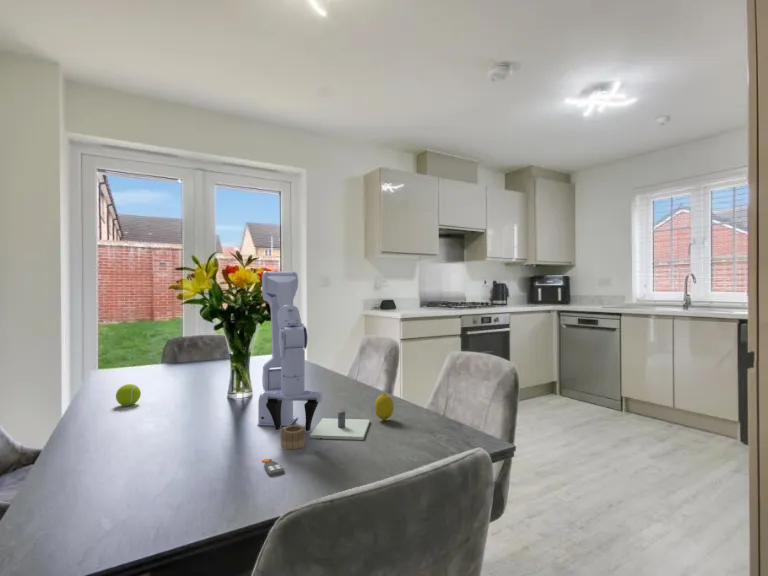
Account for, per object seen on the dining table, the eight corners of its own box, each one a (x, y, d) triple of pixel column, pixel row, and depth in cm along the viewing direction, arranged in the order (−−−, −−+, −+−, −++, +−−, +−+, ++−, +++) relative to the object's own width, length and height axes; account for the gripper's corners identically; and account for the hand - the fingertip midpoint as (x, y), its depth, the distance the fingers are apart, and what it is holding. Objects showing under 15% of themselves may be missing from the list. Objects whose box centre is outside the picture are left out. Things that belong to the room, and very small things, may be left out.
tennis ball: (144, 402, 142) (144, 382, 142) (133, 408, 135) (133, 386, 135) (123, 402, 141) (124, 382, 141) (111, 408, 134) (111, 387, 134)
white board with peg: (310, 438, 108) (310, 418, 108) (322, 420, 122) (322, 403, 122) (363, 439, 107) (363, 420, 107) (369, 422, 121) (369, 405, 121)
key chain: (286, 475, 88) (286, 468, 88) (269, 479, 86) (269, 472, 86) (269, 454, 99) (269, 448, 99) (253, 457, 97) (253, 451, 97)
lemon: (391, 424, 119) (391, 396, 119) (372, 422, 120) (372, 395, 120) (394, 418, 125) (395, 391, 125) (376, 417, 126) (377, 390, 126)
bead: (278, 449, 101) (278, 432, 101) (285, 440, 106) (285, 424, 106) (300, 449, 100) (300, 433, 100) (306, 441, 106) (306, 425, 106)
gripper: (258, 377, 100) (258, 434, 100) (317, 378, 99) (317, 436, 99) (269, 372, 107) (269, 424, 107) (324, 372, 106) (324, 426, 106)
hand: (292, 429), depth 103 cm, fingers open, 7 cm apart
